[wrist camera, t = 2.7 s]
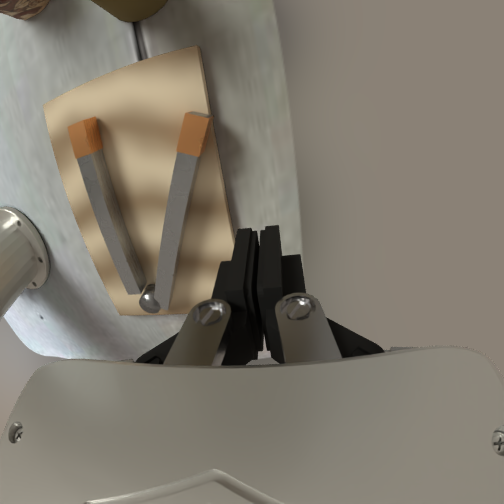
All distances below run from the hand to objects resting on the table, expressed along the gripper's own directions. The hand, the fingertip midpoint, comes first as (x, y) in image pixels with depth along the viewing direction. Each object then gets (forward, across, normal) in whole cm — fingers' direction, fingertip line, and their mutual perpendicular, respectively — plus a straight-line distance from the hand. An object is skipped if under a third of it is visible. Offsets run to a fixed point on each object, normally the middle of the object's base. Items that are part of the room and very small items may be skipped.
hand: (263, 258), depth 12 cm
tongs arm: (+12, +9, +3) cm, 16 cm away
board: (+14, +12, +2) cm, 18 cm away
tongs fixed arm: (+12, +14, +1) cm, 19 cm away
